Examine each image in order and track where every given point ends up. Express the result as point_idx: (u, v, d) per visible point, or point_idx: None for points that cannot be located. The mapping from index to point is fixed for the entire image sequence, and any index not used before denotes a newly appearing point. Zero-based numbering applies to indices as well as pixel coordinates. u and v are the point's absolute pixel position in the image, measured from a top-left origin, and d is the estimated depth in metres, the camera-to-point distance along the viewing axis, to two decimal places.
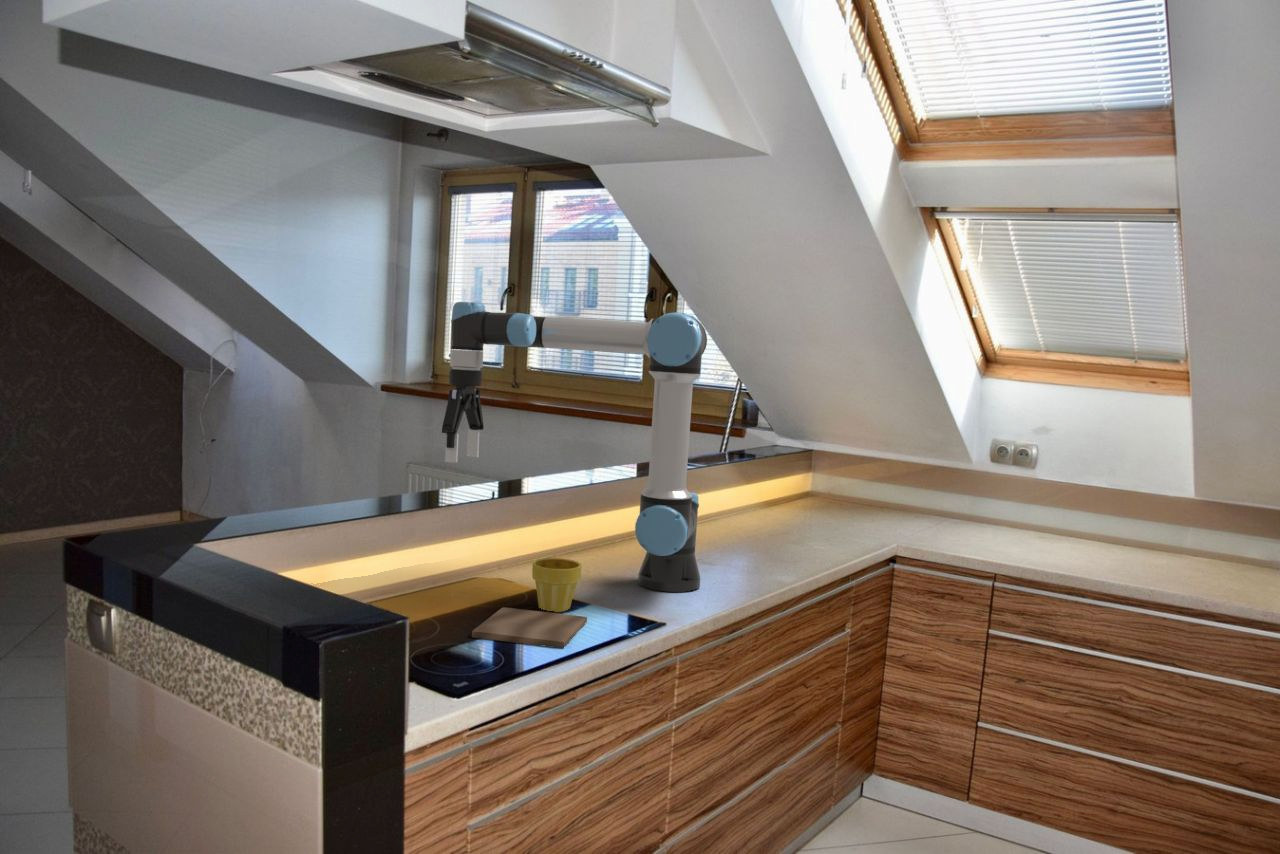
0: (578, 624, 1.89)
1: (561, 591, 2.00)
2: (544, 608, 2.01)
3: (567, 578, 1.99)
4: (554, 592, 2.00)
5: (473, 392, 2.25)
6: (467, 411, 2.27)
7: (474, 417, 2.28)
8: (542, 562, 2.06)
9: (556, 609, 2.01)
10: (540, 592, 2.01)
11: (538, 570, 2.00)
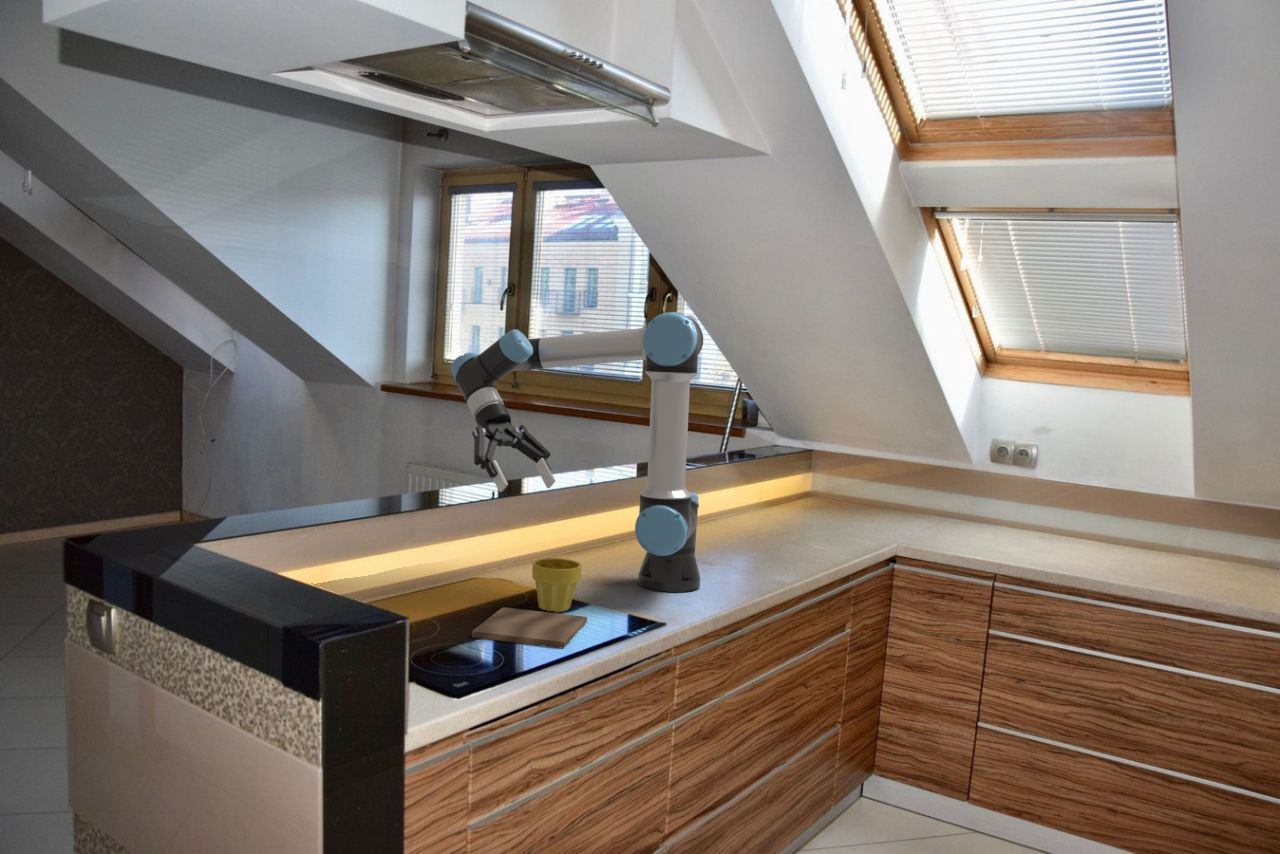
0: (578, 624, 1.89)
1: (561, 591, 2.00)
2: (544, 608, 2.01)
3: (567, 578, 1.99)
4: (554, 592, 2.00)
5: (510, 427, 2.18)
6: (519, 447, 2.17)
7: (528, 448, 2.17)
8: (542, 562, 2.06)
9: (556, 609, 2.01)
10: (540, 592, 2.01)
11: (538, 570, 2.00)
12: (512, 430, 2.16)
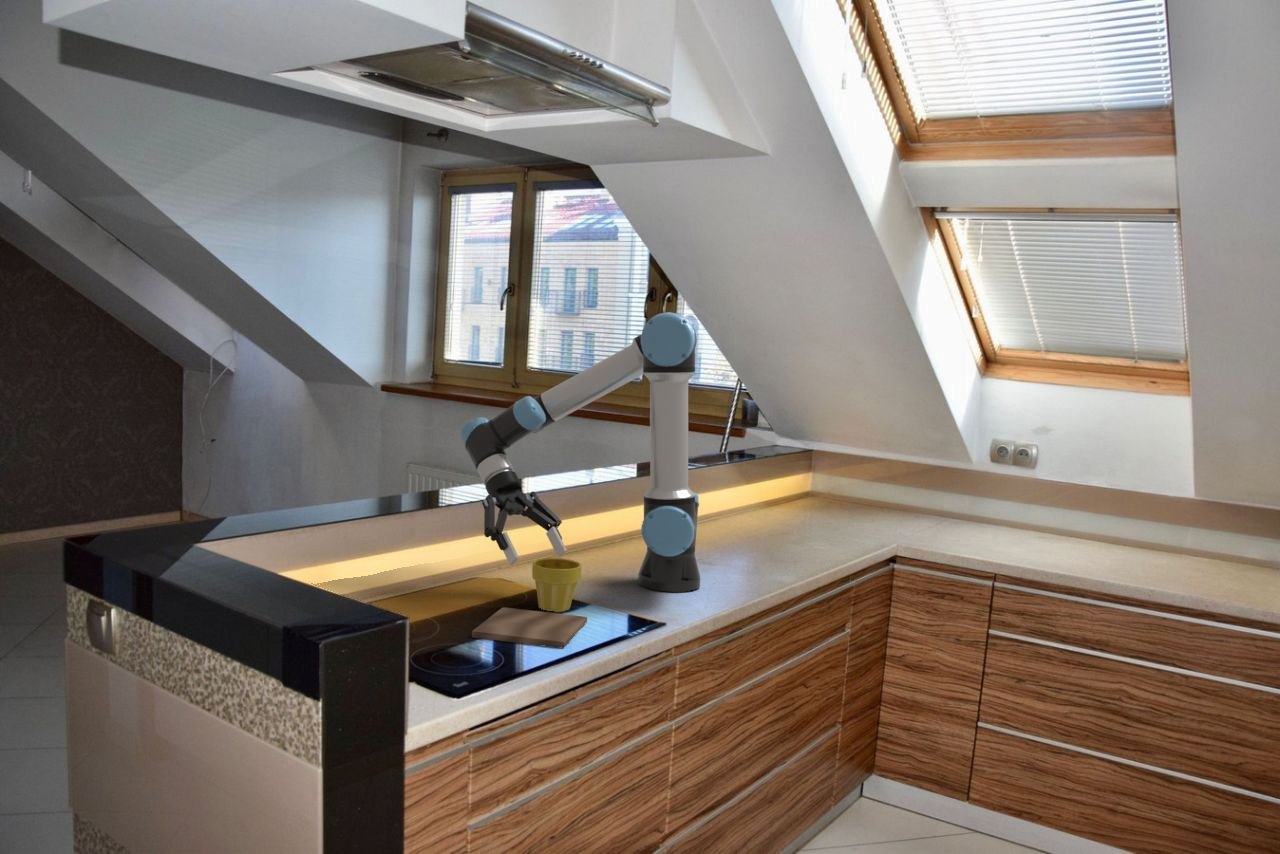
0: (578, 624, 1.89)
1: (561, 591, 2.00)
2: (544, 608, 2.01)
3: (567, 578, 1.99)
4: (554, 592, 2.00)
5: (521, 495, 2.14)
6: (529, 516, 2.14)
7: (539, 517, 2.13)
8: (542, 562, 2.06)
9: (556, 609, 2.01)
10: (540, 592, 2.01)
11: (538, 570, 2.00)
12: (523, 498, 2.13)
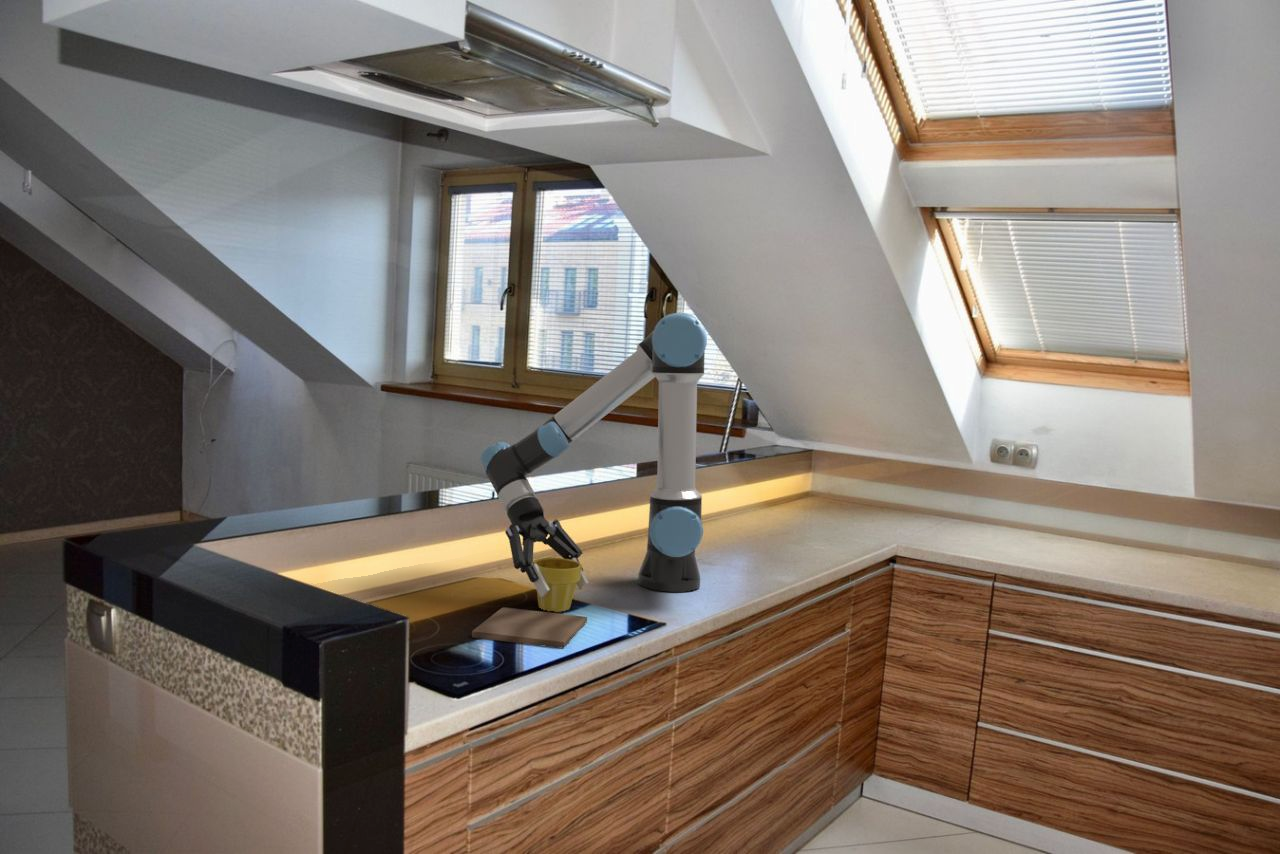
0: (578, 624, 1.89)
1: (561, 591, 2.00)
2: (544, 608, 2.01)
3: (567, 578, 1.99)
4: (554, 592, 2.00)
5: (543, 521, 2.10)
6: (550, 544, 2.09)
7: (560, 546, 2.08)
8: (542, 562, 2.06)
9: (556, 609, 2.01)
10: None
11: None
12: (545, 525, 2.09)
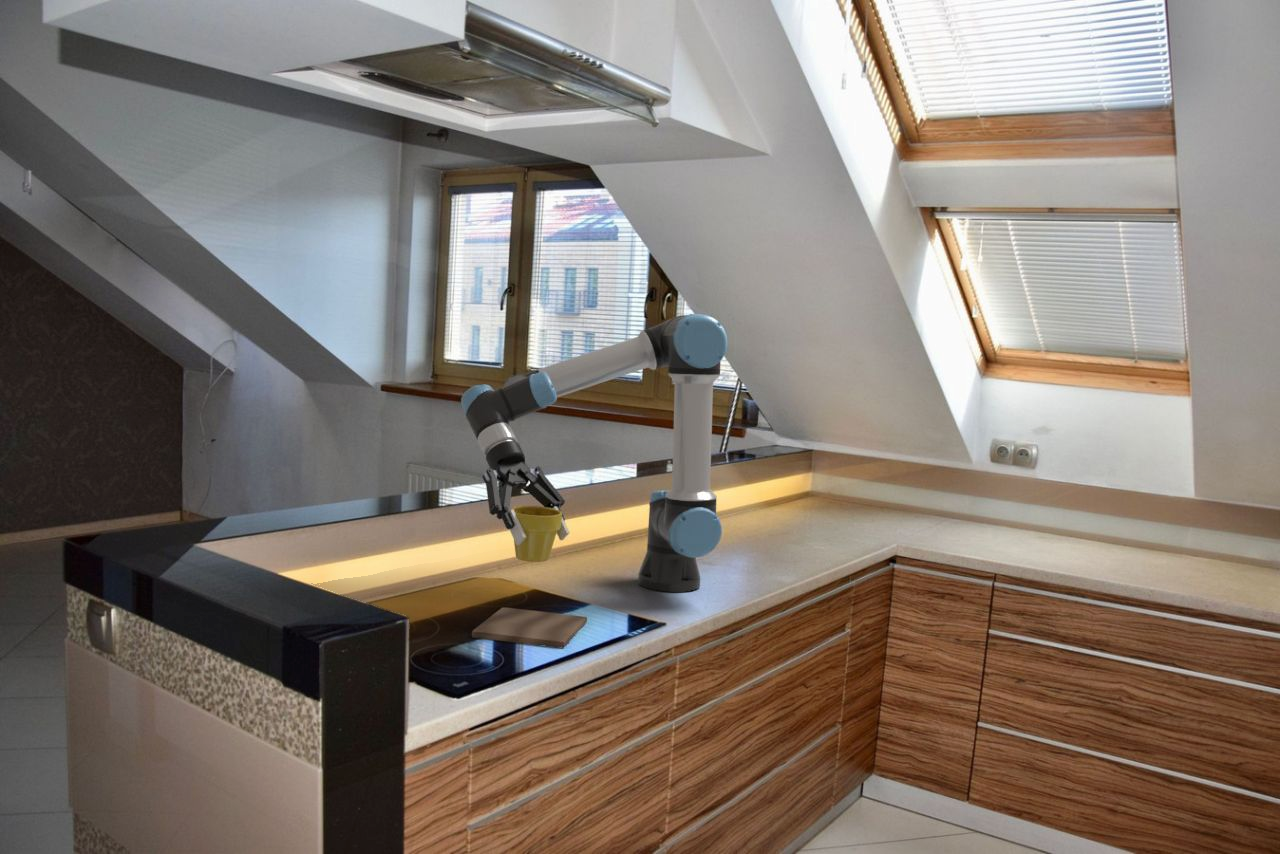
0: (578, 624, 1.89)
1: (538, 540, 1.88)
2: (521, 557, 1.89)
3: (545, 526, 1.87)
4: (531, 540, 1.87)
5: (524, 467, 1.98)
6: (531, 491, 1.97)
7: (541, 494, 1.96)
8: (521, 510, 1.94)
9: (533, 559, 1.89)
10: None
11: None
12: (526, 471, 1.96)
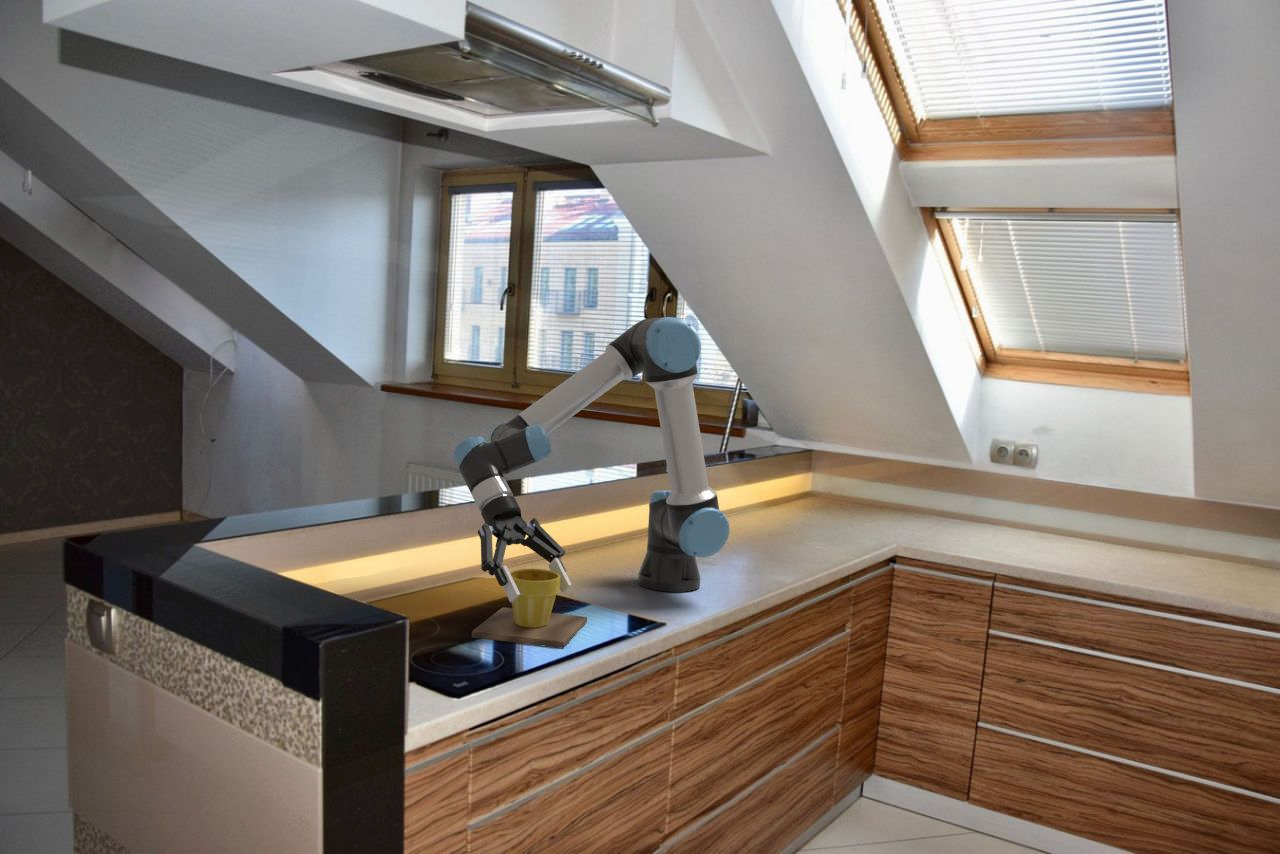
0: (578, 624, 1.89)
1: (538, 605, 1.83)
2: (520, 623, 1.85)
3: (544, 591, 1.83)
4: (530, 606, 1.83)
5: (521, 522, 1.93)
6: (530, 545, 1.93)
7: (540, 547, 1.92)
8: (518, 573, 1.90)
9: (533, 624, 1.84)
10: (515, 606, 1.84)
11: None
12: (523, 526, 1.92)
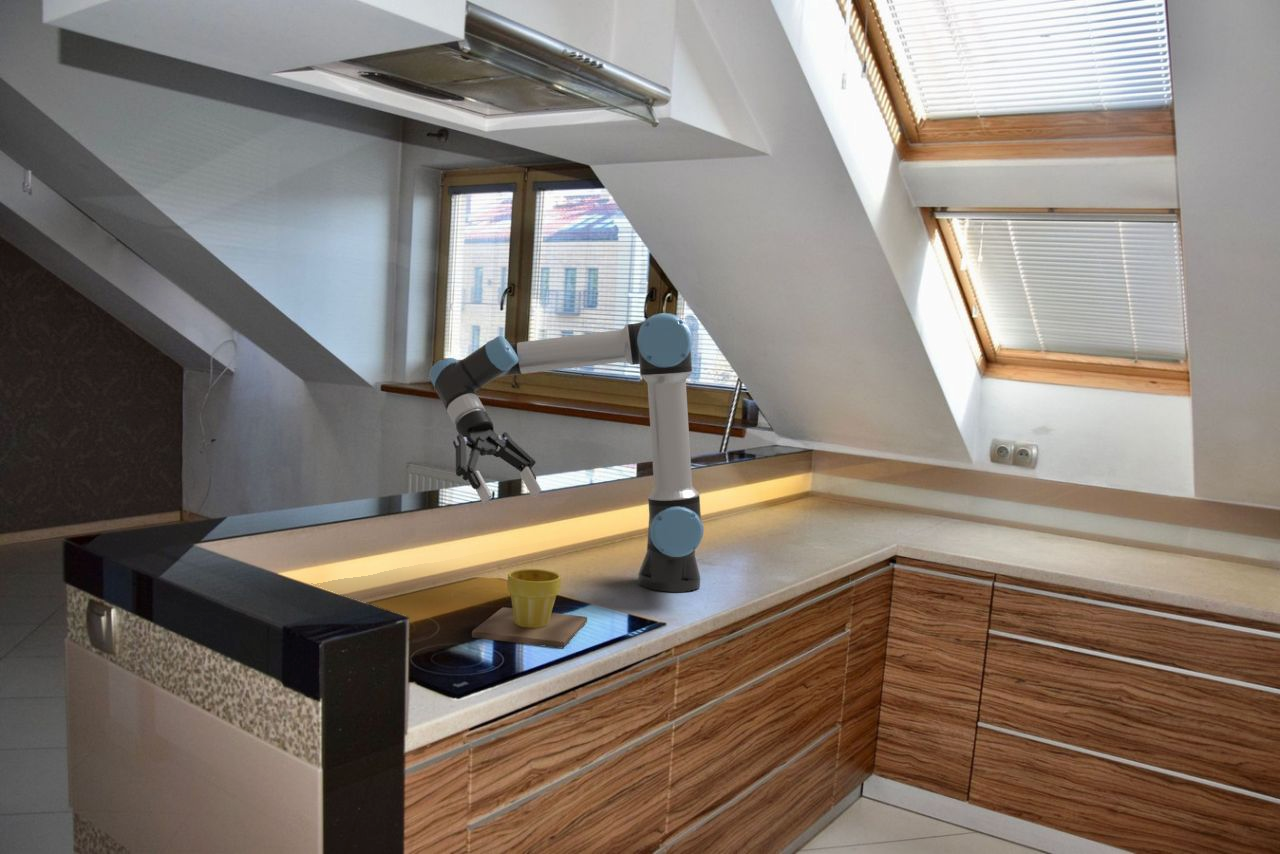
0: (578, 624, 1.89)
1: (538, 606, 1.83)
2: (520, 624, 1.85)
3: (545, 591, 1.83)
4: (531, 606, 1.83)
5: (493, 435, 2.09)
6: (502, 456, 2.09)
7: (512, 457, 2.08)
8: (519, 573, 1.90)
9: (533, 625, 1.84)
10: (516, 606, 1.84)
11: (513, 582, 1.83)
12: (495, 438, 2.07)
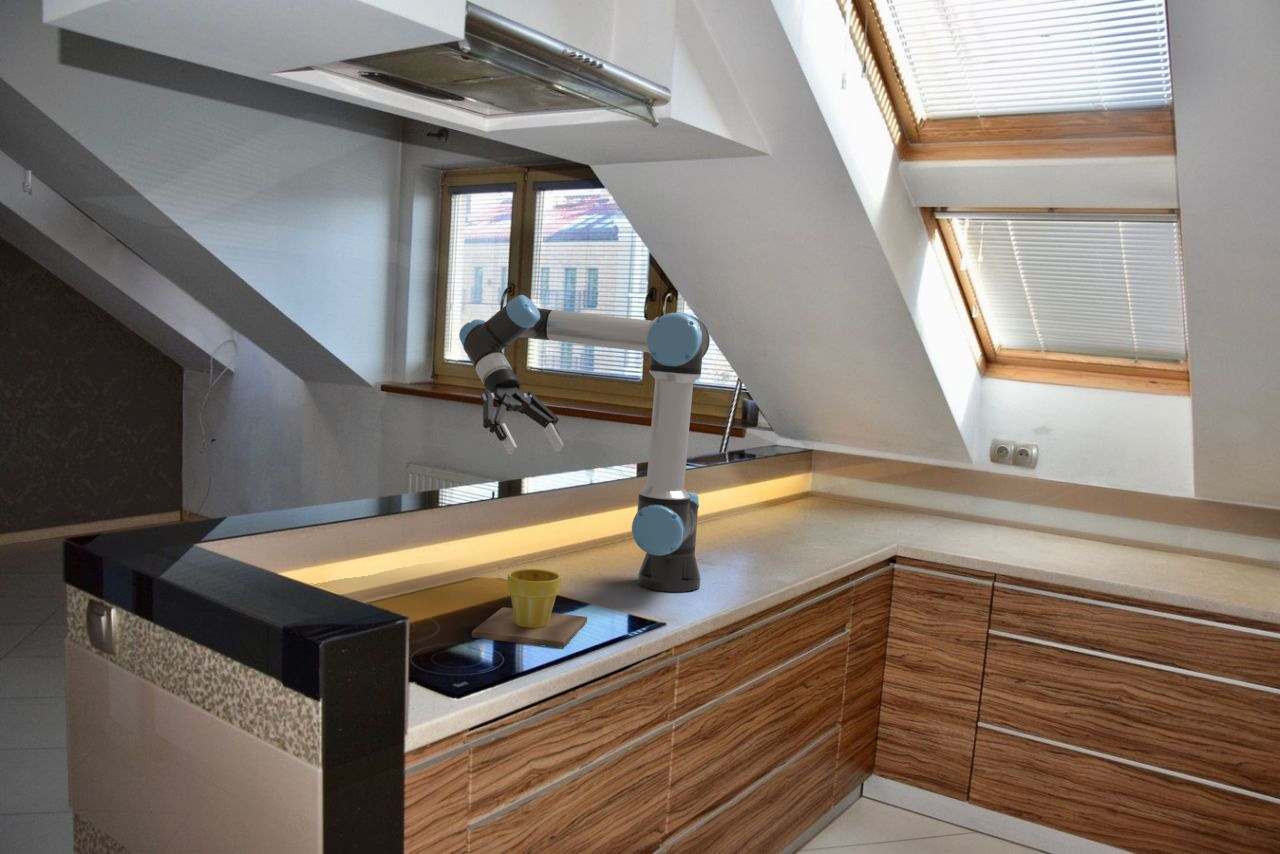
0: (578, 624, 1.89)
1: (538, 606, 1.83)
2: (520, 624, 1.85)
3: (545, 591, 1.83)
4: (531, 606, 1.83)
5: None
6: (527, 413, 2.18)
7: (537, 413, 2.18)
8: (518, 573, 1.90)
9: (533, 625, 1.84)
10: (516, 606, 1.84)
11: (513, 582, 1.83)
12: (520, 395, 2.17)
